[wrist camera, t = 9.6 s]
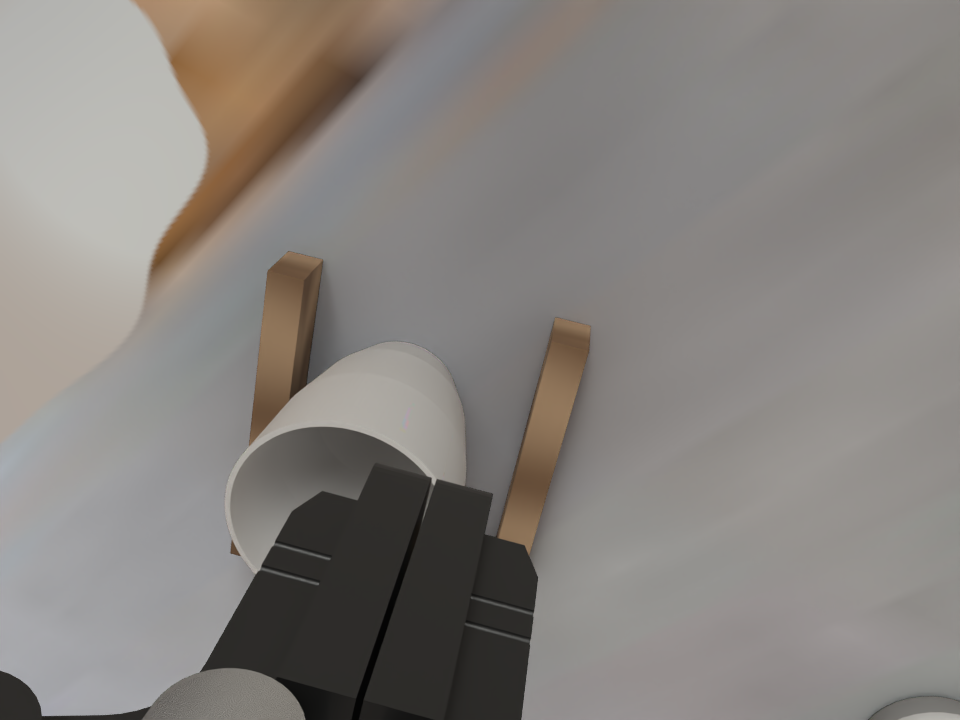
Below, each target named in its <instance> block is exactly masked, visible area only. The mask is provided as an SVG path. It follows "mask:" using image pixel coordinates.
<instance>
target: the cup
mask: <svg viewBox="0 0 960 720" xmlns="http://www.w3.org/2000/svg"><path fill="white" fill-rule="evenodd" d="M375 463H379V464H383V465H387V466H391V467H394V468H398V469H402V470H405V471H409V472H413V473H417V474H420V475H424V476H428V477H431V478H432V482H431V487H430V491H429V496H428V500H427V504H426V508H425V512H426V509H427V506H428V503H429V500H430V497H431V494H432V491H433V488H434V485H435V482H436V480H437V479H440V480H443V481H447V482H451V483H455V484H458V485H462V486H465V482H466V435H465V416H464V411H463V407H462V404H461V401H460V398H459V395H458V392H457V389H456V386H455V383H454V380H453V378H452V376H451V374H450V372H449V370H448V369H447V367H446V366H445V365H444V364H443V363H442V361H441V360H440V359H439V358H437V357H436V356H435V355H434V354H432V353H431V352H429V351H428V350H426V349H424V348H422V347H420V346H417V345H414V344H411V343H407V342H398V341H392V342H384V343H380V344H376V345H374V346H371V347H369V348H366V349H363V350H361V351H358V352H356V353H353V354H351V355H348V356H346V357H344V358H342V359H341V360H339V361H338V362H336V363H335V364H334V365H332V366H331V367H330V368H328V369H327V370H326V371H325V372H323V373H322V374H321V375H320V376H318V377H317V378H316V379H314V380H313V381H312V382H311V383H309V384H308V385H307V386H305V387H304V388H303V389H302V390H300V391H299V392H298V393H297V394H296V395H294V396H293V397H292V398H291V399H290V401H289V402H288V403H287V404H286V405H285V406H284V407H283V409H282V410H281V411H280V412H279V413H278V414H277V415H276V416H275V418H274V419H273V420H272V421H271V422H270V423H269V424H268V426H267V427H266V428H265V429H264V430H263V431H262V432H261V434H260V435H259V436H258V437H257V438H256V439H255V440H254V442H253V443H252V444H251V445H250V446H249V447H248V448H247V450H246V451H245V452H244V453H243V454H242V455H241V457H240V458H239V459H238V461H237V462H236V464H235V466H234V467H233V469H232V472H231V474H230V476H229V479H228V482H227V486H226V492H225V516H226V521H227V526H228V529H229V532H230V535H231V538H232V540H233V542H234V544H235V546H236V548H237V550H238V552H239V554H240V555H241V557H242V558H243V560H244V561H245V562H246V564H247V565H248V566H249V568H250V569H251V570H252V571H253V572H254V573H255V574H257V572H258V571H260V569H261V565H262V563H263V561H264V559H265V558H266V556H267V554H268V552H269V551H270V549H271V547H272V546H274V544H275V540H276V538H277V536H278V535H279V533H280V531H281V529H282V528H283V526H284V524H285V522H286V521H287V519H288V517H289V515H290V513H291V512H292V511H293V510H294V509H296V508H297V507H299V506H300V505H302V504H303V503H305V502H306V501H308V500H309V499H311V498H312V497H314V496H315V495H317V494H318V493H320V492H321V491H325V492H329V493H332V494H336V495H340V496H344V497H347V498H351V499H355V500H358V498H359V496H360V494H361V492H362V489H363V487H364V485H365V483H366V481H367V479H368V476H369V474H370V472H371V470H372V468H373V466H374V464H375ZM425 512H424V516H425ZM424 516H423V519H424ZM422 522H423V521H422Z"/></svg>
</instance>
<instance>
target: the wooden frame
mask: <svg viewBox="0 0 960 720" xmlns="http://www.w3.org/2000/svg"><path fill="white" fill-rule="evenodd" d="M322 264H323V260H322V259H318V258H314V257H310V256H306V255H302V254H298V253H294V252H290V251H288V252H287V253H286V254H285V255H284V256H283V257H282V258H281V259H280V260H279V261H278V262H277V263H276V264H274V265H273V266H272V267H271V268H270V269H269V270H268V272H267V281H266V291H265V300H264V310H263V319H262V328H261V338H260V347H259V356H258V366H257V375H256V385H255V394H254V403H253V413H252V422H251V431H250V441H249V446H250V445H251V444H252V443H253V442H254V440H255V439H256V438H257V437H258V436H259V435H260V434H261V432H262V431H263V430H264V429H265V428H266V427H267V426H268V424H269V423H270V422H271V421H272V420H273V419H274V418H275V416H276V415H277V414H278V413H279V412H280V411H281V410H282V409H283V407H284V406H285V405H286V404H287V403H288V402H289V401H290V399H291V398H292V397H293V396H294V395H296V394H297V393H298V392H299V391H300V390H302V389H303V388H304V387H305V386H306V382H307V374H308V367H309V360H310V352H311V345H312V338H313V330H314V323H315V316H316V308H317V301H318V293H319V286H320V279H321V271H322ZM590 327H591V326H588V325H584V324H580V323H576V322H572V321H568V320H564V319H560V318H556V317H555V321H554V324H553V328H552V332H551V335H550V339H549V343H548V347H547V350H546V354H545V358H544V361H543V365H542V369H541V373H540V376H539V380H538V384H537V387H536V391H535V395H534V399H533V402H532V406H531V410H530V414H529V417H528V421H527V425H526V428H525V432H524V436H523V440H522V443H521V447H520V451H519V454H518V458H517V462H516V466H515V469H514V473H513V477H512V480H511V484H510V488H509V492H508V495H507V499H506V503H505V506H504V510H503V514H502V518H501V521H500V525H499V529H498V532H497V536H496V538H500V539H503V540H507V541H511V542H515V543H518V544H522V545H525V547H526V550H527V552H528V555H529V554H530V551H531V547H532V544H533V540H534V537H535V533H536V530H537V527H538V523H539V520H540V516H541V513H542V510H543V506H544V503H545V499H546V496H547V493H548V489H549V486H550V482H551V479H552V475H553V472H554V469H555V465H556V462H557V458H558V455H559V452H560V448H561V445H562V441H563V438H564V435H565V431H566V428H567V424H568V421H569V417H570V414H571V411H572V407H573V404H574V400H575V397H576V394H577V390H578V387H579V383H580V380H581V377H582V373H583V370H584V366H585V363H586V359H587V356H588V353H589V343H590ZM231 554H235V555H239V556H241V555H240V554H239V552H238V550H237V548H236V546H235V544H234V542H233V540H232V543H231Z"/></svg>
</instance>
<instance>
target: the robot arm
mask: <svg viewBox="0 0 960 720" xmlns="http://www.w3.org/2000/svg"><path fill="white" fill-rule="evenodd" d="M431 482H432V478H431V477H428V476H424V475H420V474H417V473H413V472H409V471H405V470H402V469H398V468H394V467H391V466H387V465H383V464H379V463H375V464H374V466H373V468H372V470H371V472H370V474H369V476H368V479H367V481H366V483H365V485H364V487H363V489H362V492H361V494H360V496H359V498H358V500H355V499H351V498H347V497H344V496H340V495H336V494H332V493H329V492H325V491H321V492H320V493H318V494H317V495H315V496H314V497H312V498H311V499H309V500H308V501H306V502H305V503H303V504H302V505H300V506H299V507H297V508H296V509H294V510H293V511H292V512H291V513H290V515H289V517H288V519H287V521H286V522H285V524H284V526H283V528H282V529H281V531H280V533H279V535H278V536H277V538H276V540H275V544H274V546H272V547H271V549H270V551H269V552H268V554H267V556H266V558H265V559H264V561H263V563H262V565H261V569H260V571H258V572H257V574H256V575H255V577H254V579H253V581H252V582H251V584H250V586H249V588H248V590H247V591H246V593H245V595H244V597H243V598H242V600H241V602H240V604H239V605H238V607H237V609H236V611H235V613H234V614H233V616H232V618H231V620H230V621H229V623H228V625H227V627H226V628H225V630H224V632H223V634H222V636H221V637H220V639H219V641H218V643H217V644H216V646H215V648H214V650H213V651H212V653H211V655H210V657H209V659H208V660H207V662H206V664H205V665H204V667H203V668H202V670H201V671H200V673H196V674H194V675H191V676H189V677H187V678H184V679H182V680H181V681H179V682H177V683H176V684H174V685H172V686H171V687H170V688H168V689H167V690H166V691H165V692H164V693H163V694H161V695H160V697H159V698H158V699H157V700H156V701H155V702H154V704H153V705H152V706H151V707H147V708H144V709H141V710H138V711H133V712H128V713H123V714H114V715H90V716H42V714H41V707H40V704H39V702H38V700H37V697H36V696H35V694H34V693H33V692H32V690H31V689H30V688H29V687H28V686H27V685H26V684H25V683H23V682H22V681H21V680H20V679H18V678H16V677H14V676H12V675H10V674H8V673H5V672H2V671H0V720H521V717H522V708H523V700H524V691H525V683H526V675H527V666H528V658H529V649H530V645H529V643H530V639H531V633H532V624H533V613H534V608H535V599H536V591H537V582H538V576H537V574H536V572H535V569H534V567H533V564H532V562H531V559H530V557H529V555H528V552H527V550H526V547H525V545H522V544H518V543H515V542H511V541H507V540H503V539H500V538H496V537H492V536H489V535H485V529H486V525H487V520H488V515H489V511H490V506H491V502H492V497H493V494H492V493H488V492H484V491H481V490H477V489H473V488H469V487H466V486H462V485H458V484H455V483H451V482H447V481H443V480H440V479H437V480H436V482H435V485H434V488H433V491H432V494H431V497H430V500H429V503H428V506H427V509H426V512H425V508H426V504H427V500H428V496H429V491H430V487H431ZM424 512H425V516H424ZM423 516H424V519H423ZM422 521H423V522H422Z"/></svg>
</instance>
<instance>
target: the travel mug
mask: <svg viewBox="0 0 960 720" xmlns="http://www.w3.org/2000/svg"><path fill="white" fill-rule="evenodd" d="M869 720H960V701H956V700H953V699H950V698H944V697H937V696H921V697H914V698H908V699H904V700H901V701H897V702H895V703H893V704H890V705H888V706H886V707H884V708H883V709H881V710H880V711H878V712H877V713H875V714H874V715H873V716H872V717H871V718H870V719H869Z"/></svg>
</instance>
